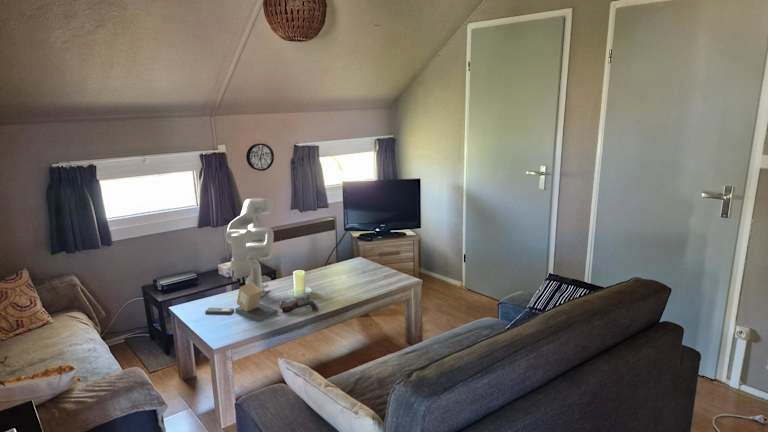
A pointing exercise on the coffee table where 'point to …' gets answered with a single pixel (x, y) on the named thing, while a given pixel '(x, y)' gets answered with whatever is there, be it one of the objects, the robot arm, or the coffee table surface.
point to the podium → (258, 312)
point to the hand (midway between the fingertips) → (242, 288)
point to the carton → (249, 296)
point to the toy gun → (298, 304)
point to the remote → (219, 311)
